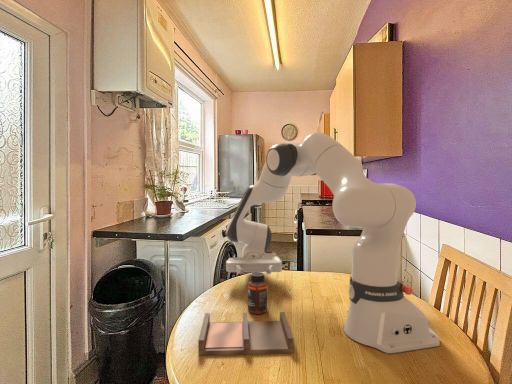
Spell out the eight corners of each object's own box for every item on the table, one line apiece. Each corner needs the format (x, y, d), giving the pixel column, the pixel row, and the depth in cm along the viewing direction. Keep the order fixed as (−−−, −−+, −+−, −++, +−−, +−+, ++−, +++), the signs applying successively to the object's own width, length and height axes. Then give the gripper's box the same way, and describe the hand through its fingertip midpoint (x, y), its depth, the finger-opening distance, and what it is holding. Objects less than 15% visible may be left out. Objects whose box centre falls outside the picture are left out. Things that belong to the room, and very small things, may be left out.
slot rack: (284, 324, 85) (284, 311, 85) (293, 353, 71) (293, 338, 71) (205, 325, 84) (205, 313, 84) (198, 355, 70) (198, 340, 70)
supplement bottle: (270, 309, 95) (271, 272, 94) (261, 316, 90) (261, 278, 89) (254, 305, 98) (254, 269, 97) (244, 312, 93) (244, 274, 92)
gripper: (226, 252, 119) (224, 262, 105) (279, 252, 120) (284, 262, 106) (226, 268, 119) (224, 280, 105) (278, 268, 120) (284, 280, 106)
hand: (255, 271), depth 106 cm, fingers open, 8 cm apart
